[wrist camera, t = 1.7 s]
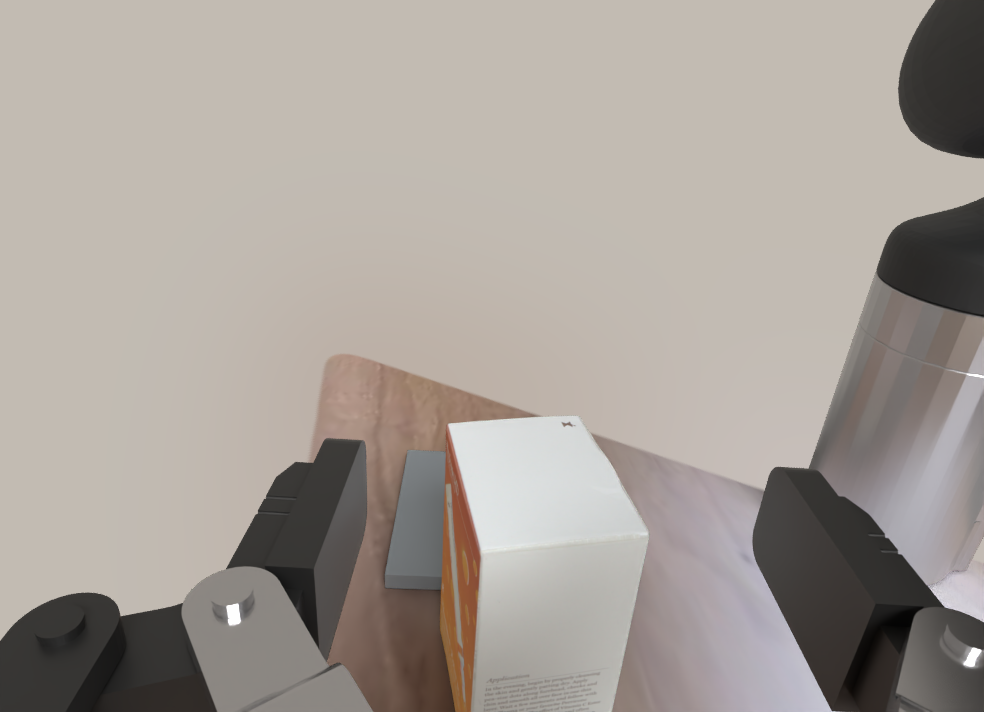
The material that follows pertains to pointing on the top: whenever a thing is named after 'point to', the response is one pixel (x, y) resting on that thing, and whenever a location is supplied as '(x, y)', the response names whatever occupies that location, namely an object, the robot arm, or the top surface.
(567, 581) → the small box
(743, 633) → the top surface
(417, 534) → the base board
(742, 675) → the top surface
